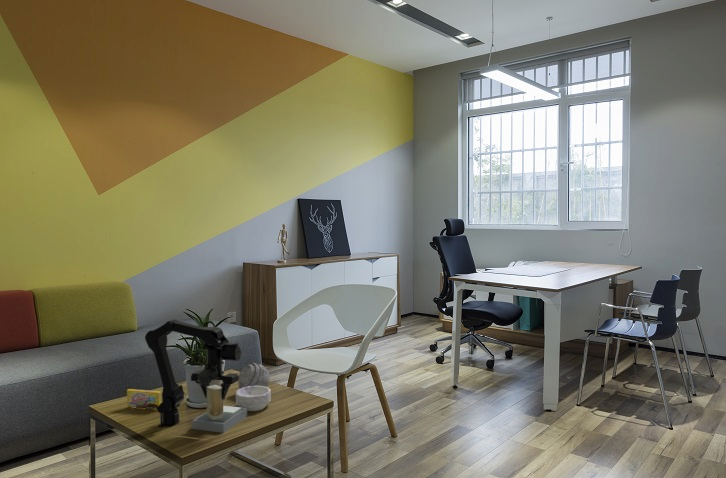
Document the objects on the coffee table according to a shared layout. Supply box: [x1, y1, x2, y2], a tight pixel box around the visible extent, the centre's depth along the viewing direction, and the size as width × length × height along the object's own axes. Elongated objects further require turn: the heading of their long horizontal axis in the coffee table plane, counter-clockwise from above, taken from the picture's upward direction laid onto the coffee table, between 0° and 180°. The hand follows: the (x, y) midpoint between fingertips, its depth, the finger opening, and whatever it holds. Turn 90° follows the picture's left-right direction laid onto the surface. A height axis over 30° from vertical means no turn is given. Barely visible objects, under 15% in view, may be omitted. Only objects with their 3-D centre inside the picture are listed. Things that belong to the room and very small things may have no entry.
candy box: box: [126, 388, 162, 411], centre depth 234 cm, size 16×2×8 cm, turn 76°
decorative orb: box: [237, 362, 270, 389], centre depth 251 cm, size 15×14×15 cm
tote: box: [191, 408, 248, 433], centre depth 215 cm, size 14×18×4 cm
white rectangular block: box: [217, 405, 241, 421], centre depth 219 cm, size 10×6×4 cm, turn 73°
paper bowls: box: [235, 386, 272, 412], centre depth 232 cm, size 15×15×8 cm
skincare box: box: [206, 384, 224, 420], centre depth 211 cm, size 6×4×12 cm
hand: (215, 398), depth 211 cm, fingers closed on skincare box, 7 cm apart
